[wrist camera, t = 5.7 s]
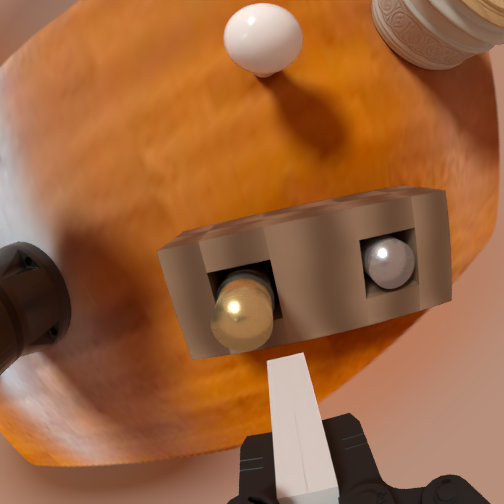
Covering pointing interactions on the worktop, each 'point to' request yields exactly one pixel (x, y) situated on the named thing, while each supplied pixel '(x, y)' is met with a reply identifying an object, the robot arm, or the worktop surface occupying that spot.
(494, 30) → the jar
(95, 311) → the worktop surface
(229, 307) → the brass peg
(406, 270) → the steel peg
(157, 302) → the worktop surface
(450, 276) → the socket block
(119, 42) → the worktop surface
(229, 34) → the lightbulb
